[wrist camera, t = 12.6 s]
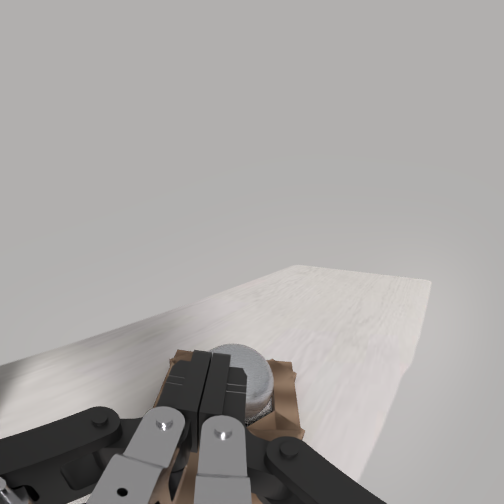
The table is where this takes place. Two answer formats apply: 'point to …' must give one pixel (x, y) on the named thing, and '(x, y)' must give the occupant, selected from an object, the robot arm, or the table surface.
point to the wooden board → (267, 428)
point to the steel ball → (251, 375)
